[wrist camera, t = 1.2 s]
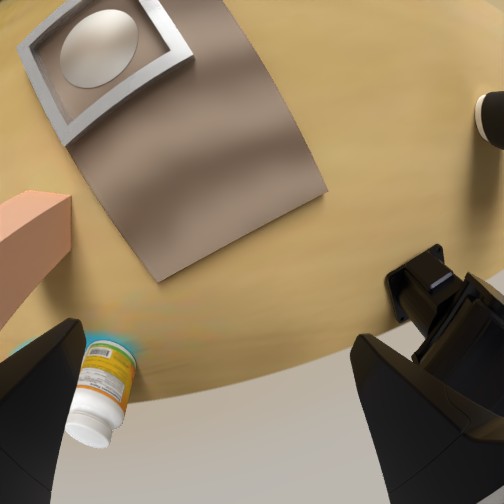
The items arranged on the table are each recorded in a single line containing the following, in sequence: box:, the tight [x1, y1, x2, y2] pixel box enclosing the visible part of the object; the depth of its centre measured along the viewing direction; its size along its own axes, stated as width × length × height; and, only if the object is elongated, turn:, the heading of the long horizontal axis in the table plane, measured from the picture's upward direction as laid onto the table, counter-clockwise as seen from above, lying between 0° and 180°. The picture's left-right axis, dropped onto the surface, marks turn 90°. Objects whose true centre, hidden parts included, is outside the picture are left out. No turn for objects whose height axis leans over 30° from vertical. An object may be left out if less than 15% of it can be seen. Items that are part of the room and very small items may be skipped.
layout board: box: [16, 0, 328, 283], centre depth 15 cm, size 22×14×2 cm, turn 28°
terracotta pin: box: [0, 190, 72, 331], centre depth 14 cm, size 4×4×11 cm
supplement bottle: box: [65, 340, 136, 448], centre depth 21 cm, size 5×5×10 cm
